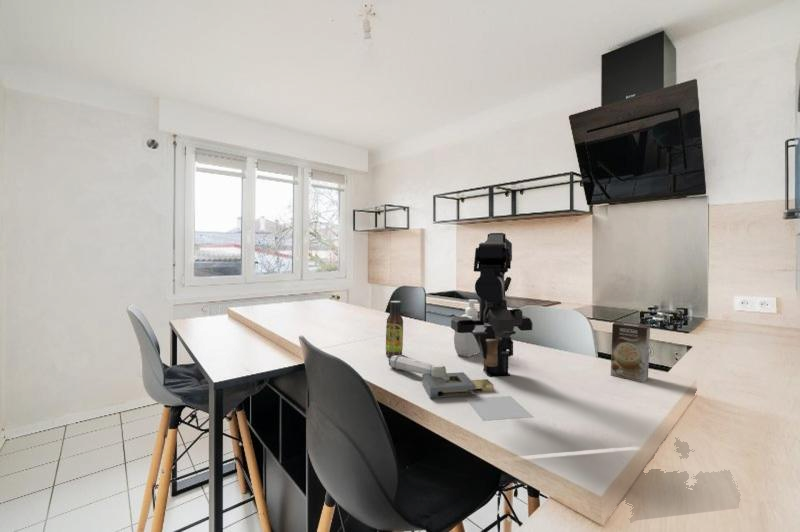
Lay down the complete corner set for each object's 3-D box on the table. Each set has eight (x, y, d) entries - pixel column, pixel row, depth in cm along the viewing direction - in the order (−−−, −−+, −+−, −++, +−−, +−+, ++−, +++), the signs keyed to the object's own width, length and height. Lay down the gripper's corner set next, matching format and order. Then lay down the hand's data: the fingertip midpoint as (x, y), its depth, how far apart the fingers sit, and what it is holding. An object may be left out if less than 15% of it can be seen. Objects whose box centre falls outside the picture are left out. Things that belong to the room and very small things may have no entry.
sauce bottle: (383, 356, 129) (382, 301, 128) (389, 352, 135) (389, 299, 134) (399, 358, 127) (399, 302, 126) (405, 353, 133) (405, 300, 132)
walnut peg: (494, 362, 89) (494, 338, 89) (499, 366, 86) (499, 341, 86) (482, 363, 89) (483, 339, 88) (487, 367, 86) (487, 342, 85)
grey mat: (510, 397, 93) (510, 395, 93) (533, 419, 81) (533, 416, 81) (465, 400, 91) (465, 398, 91) (483, 422, 79) (483, 420, 79)
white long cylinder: (399, 353, 120) (452, 361, 100) (400, 373, 119) (454, 386, 99) (386, 356, 116) (438, 365, 97) (387, 376, 116) (440, 390, 96)
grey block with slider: (483, 382, 103) (483, 371, 103) (497, 396, 94) (497, 383, 93) (422, 386, 101) (422, 374, 101) (430, 400, 91) (430, 387, 91)
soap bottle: (466, 359, 126) (466, 303, 126) (453, 356, 130) (453, 301, 129) (488, 350, 138) (489, 298, 137) (476, 347, 142) (476, 297, 141)
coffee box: (609, 375, 110) (610, 323, 109) (614, 370, 114) (615, 320, 114) (645, 382, 104) (646, 327, 103) (649, 377, 108) (650, 324, 108)
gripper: (465, 300, 77) (465, 371, 78) (545, 298, 80) (544, 367, 81) (450, 294, 88) (450, 356, 89) (521, 292, 91) (520, 353, 92)
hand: (491, 358), depth 87 cm, fingers closed on walnut peg, 3 cm apart
